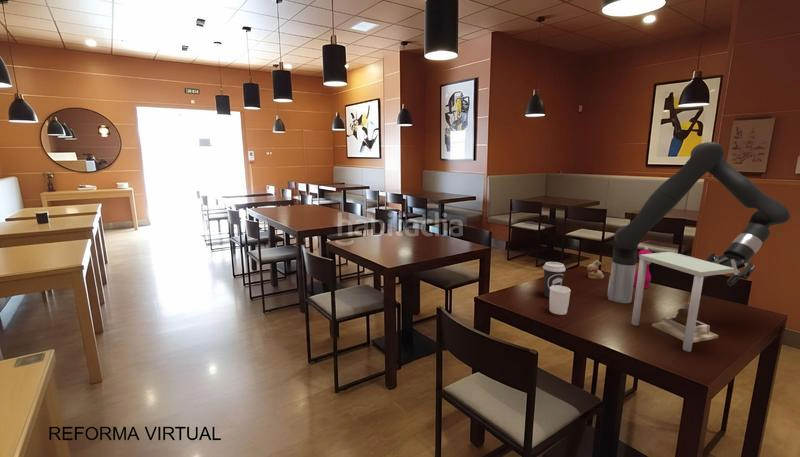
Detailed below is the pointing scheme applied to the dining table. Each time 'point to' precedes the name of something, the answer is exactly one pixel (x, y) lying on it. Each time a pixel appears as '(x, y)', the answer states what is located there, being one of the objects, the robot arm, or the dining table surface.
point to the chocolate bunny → (594, 270)
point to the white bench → (685, 265)
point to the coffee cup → (552, 276)
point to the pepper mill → (647, 276)
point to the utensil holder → (682, 315)
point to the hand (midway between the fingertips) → (715, 280)
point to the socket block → (679, 330)
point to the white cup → (559, 299)
